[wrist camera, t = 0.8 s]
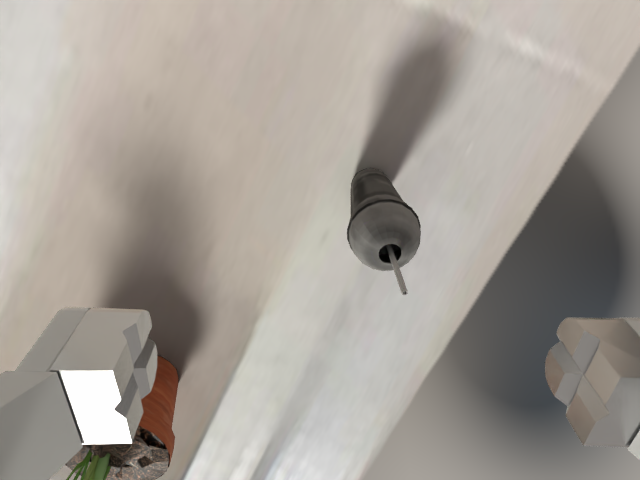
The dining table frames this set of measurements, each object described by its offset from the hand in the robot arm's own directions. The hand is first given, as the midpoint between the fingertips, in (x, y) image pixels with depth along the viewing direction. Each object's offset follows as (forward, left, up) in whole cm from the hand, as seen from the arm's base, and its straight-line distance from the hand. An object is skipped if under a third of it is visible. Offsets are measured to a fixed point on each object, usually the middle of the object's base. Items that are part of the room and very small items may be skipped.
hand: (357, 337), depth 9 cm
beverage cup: (+15, +7, -44) cm, 47 cm away
